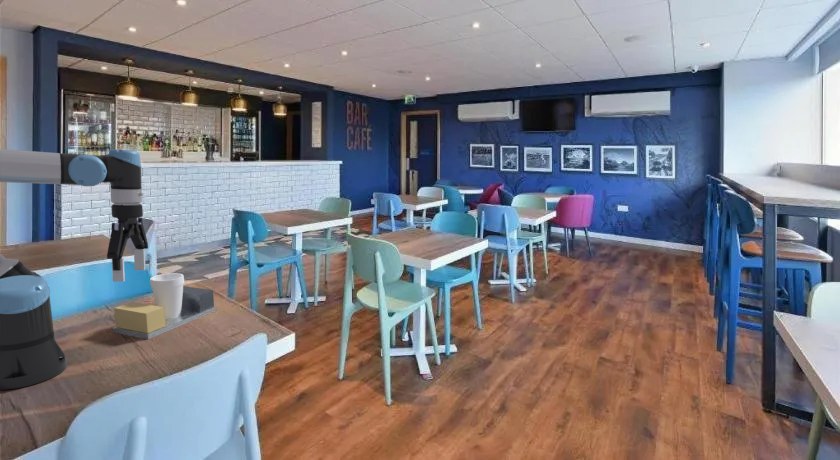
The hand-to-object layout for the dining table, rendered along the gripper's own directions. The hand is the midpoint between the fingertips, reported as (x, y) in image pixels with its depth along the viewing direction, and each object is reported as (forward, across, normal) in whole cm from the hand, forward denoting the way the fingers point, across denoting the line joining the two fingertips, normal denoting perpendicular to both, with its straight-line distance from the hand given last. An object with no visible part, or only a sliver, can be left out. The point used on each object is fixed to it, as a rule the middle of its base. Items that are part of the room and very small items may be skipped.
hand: (130, 275), depth 131 cm
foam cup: (+16, +11, -7) cm, 21 cm away
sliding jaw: (+16, +1, -2) cm, 16 cm away
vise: (+18, +10, -7) cm, 21 cm away
